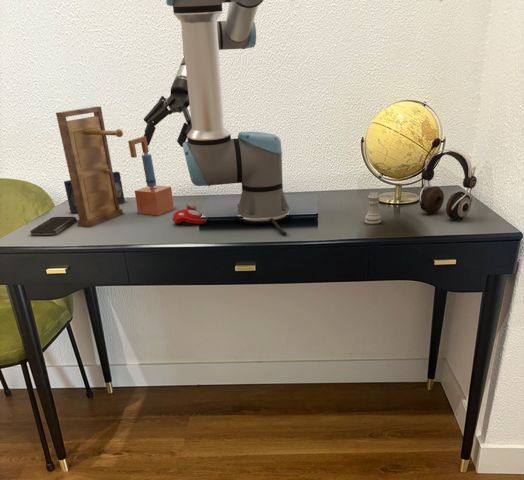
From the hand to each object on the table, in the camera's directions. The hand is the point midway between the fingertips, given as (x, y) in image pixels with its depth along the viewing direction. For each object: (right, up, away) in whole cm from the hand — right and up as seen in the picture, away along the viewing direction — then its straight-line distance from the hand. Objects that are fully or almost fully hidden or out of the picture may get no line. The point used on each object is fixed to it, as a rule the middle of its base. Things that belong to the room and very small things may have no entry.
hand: (162, 143), depth 165 cm
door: (-13, -25, -4) cm, 29 cm away
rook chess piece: (+61, -29, -18) cm, 70 cm away
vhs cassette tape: (-23, -17, +12) cm, 31 cm away
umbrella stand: (-3, -20, +4) cm, 20 cm away
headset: (+81, -27, -17) cm, 87 cm away
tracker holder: (+10, -26, -8) cm, 29 cm away
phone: (-30, -28, -7) cm, 42 cm away
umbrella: (-4, -21, +2) cm, 21 cm away
